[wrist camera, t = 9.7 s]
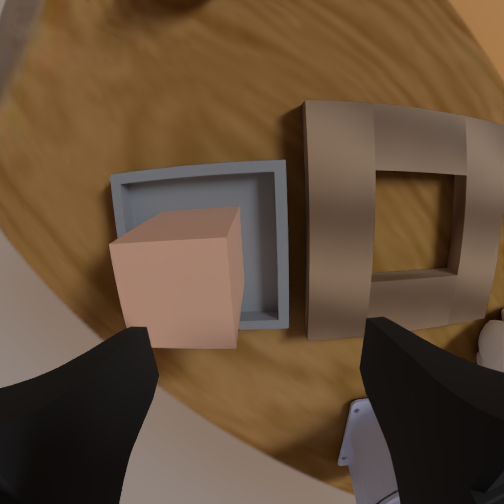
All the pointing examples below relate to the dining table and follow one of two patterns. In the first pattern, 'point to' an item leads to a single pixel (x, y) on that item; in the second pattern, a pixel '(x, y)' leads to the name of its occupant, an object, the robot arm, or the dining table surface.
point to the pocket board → (363, 215)
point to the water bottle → (492, 345)
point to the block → (183, 277)
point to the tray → (215, 196)
